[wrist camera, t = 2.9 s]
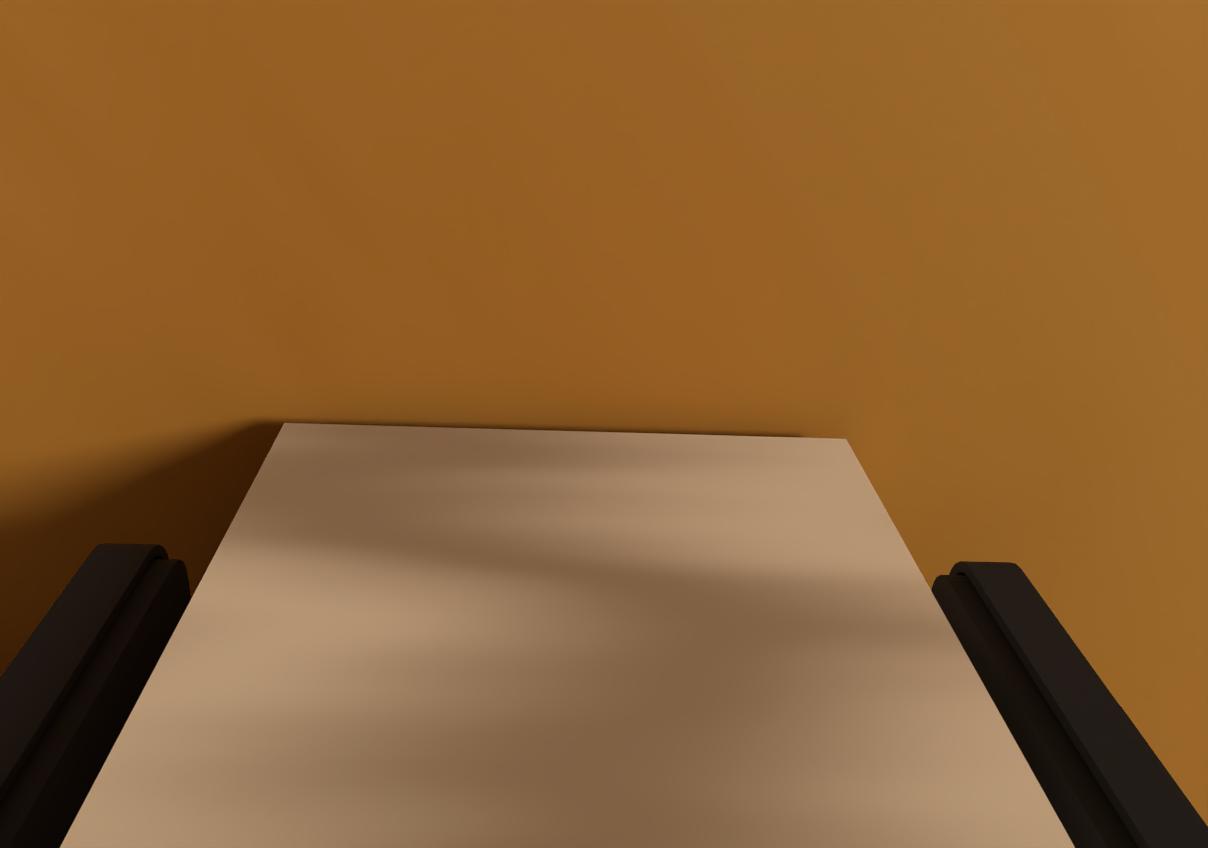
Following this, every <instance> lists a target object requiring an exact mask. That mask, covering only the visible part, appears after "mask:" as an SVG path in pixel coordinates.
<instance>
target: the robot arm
mask: <svg viewBox="0 0 1208 848" xmlns="http://www.w3.org/2000/svg"><path fill="white" fill-rule="evenodd" d="M931 591H932V593H933V595H934V597H935V599H936V600H937V602H938V604H939V606H940V608H941V609H942V611H943V613H944V615H945V616H946V618H947V620H948V622H949V624H950V625H951V627H952V629H953V631H954V632H955V634H956V636H957V638H958V640H959V641H960V643H961V645H962V647H963V649H964V650H965V652H966V654H967V656H968V657H969V659H970V661H971V663H972V665H973V666H974V668H975V670H976V672H977V674H978V675H979V677H980V679H981V681H982V682H983V684H984V686H985V688H986V690H987V691H988V693H989V695H990V697H991V698H992V700H993V702H994V704H995V706H996V707H997V709H998V711H999V713H1000V715H1001V716H1002V718H1003V720H1004V722H1005V723H1006V725H1007V727H1008V729H1009V731H1010V732H1011V734H1012V736H1013V738H1014V739H1015V741H1016V743H1017V745H1018V747H1019V748H1020V750H1021V752H1022V754H1023V756H1024V757H1025V759H1026V761H1027V763H1028V764H1029V766H1030V768H1031V770H1032V772H1033V773H1034V775H1035V777H1036V779H1037V781H1038V782H1039V784H1040V786H1041V788H1042V789H1043V791H1044V793H1045V795H1046V797H1047V798H1048V800H1049V802H1050V804H1051V805H1052V807H1053V809H1054V811H1055V813H1056V814H1057V816H1058V818H1059V820H1060V822H1061V823H1062V825H1063V827H1064V829H1065V830H1066V832H1067V834H1068V836H1069V838H1070V839H1071V841H1072V843H1073V845H1074V847H1075V848H1208V827H1207V825H1206V824H1205V822H1204V821H1203V820H1202V818H1201V817H1200V816H1199V814H1198V813H1197V811H1196V810H1195V809H1194V807H1193V806H1192V804H1191V803H1190V802H1189V800H1188V799H1187V798H1186V796H1185V795H1184V793H1183V792H1182V791H1181V789H1180V788H1179V786H1178V785H1177V784H1176V782H1175V781H1174V779H1173V778H1172V777H1171V775H1170V774H1169V773H1168V771H1167V770H1166V768H1165V767H1164V766H1163V764H1162V763H1161V761H1160V760H1159V759H1158V757H1157V756H1156V755H1155V753H1154V752H1153V750H1152V749H1151V748H1150V746H1149V745H1148V743H1147V742H1146V741H1145V739H1144V738H1143V736H1142V735H1141V734H1140V732H1139V731H1138V730H1137V728H1136V727H1135V725H1134V724H1133V723H1132V721H1131V720H1130V718H1129V717H1128V716H1127V714H1126V713H1125V712H1124V710H1123V709H1122V707H1121V706H1120V705H1119V704H1118V703H1117V701H1116V700H1115V699H1114V697H1113V696H1112V694H1111V693H1110V692H1109V690H1108V689H1107V688H1106V686H1105V685H1104V683H1103V682H1102V681H1101V679H1100V678H1099V676H1098V675H1097V674H1096V672H1095V671H1094V669H1093V668H1092V667H1091V665H1090V664H1089V663H1088V661H1087V660H1086V658H1085V657H1084V656H1083V654H1082V653H1081V651H1080V650H1079V649H1078V647H1077V646H1076V644H1075V643H1074V642H1073V640H1072V639H1071V638H1070V636H1069V635H1068V633H1067V632H1066V631H1065V629H1064V628H1063V626H1062V625H1061V624H1060V622H1059V621H1058V619H1057V618H1056V617H1055V615H1054V614H1053V612H1052V611H1051V610H1050V608H1049V607H1048V606H1047V604H1046V603H1045V601H1044V600H1043V599H1042V597H1041V596H1040V594H1039V593H1038V592H1037V590H1036V589H1035V587H1034V586H1033V585H1032V583H1031V582H1030V581H1029V579H1028V578H1027V576H1026V575H1025V574H1024V572H1023V571H1022V569H1021V568H1020V567H1018V566H1017V565H1016V564H1014V563H1009V562H961V561H960V562H958V563H956V564H955V565H954V567H953V568H952V570H951V572H950V575H940V576H938V577H937V578H936V580H935V581H934V584H933V587H932V590H931ZM190 600H191V596H190V589H189V582H188V574H187V570H186V566H185V564H184V562H183V561H181V560H169V559H168V554H167V552H166V550H165V549H164V547H162V546H161V545H150V544H100V545H98V546H97V547H96V548H95V549H94V550H93V551H92V552H91V554H90V555H89V557H88V558H87V559H86V561H85V562H84V563H83V565H82V566H81V568H80V569H79V570H78V572H77V573H76V574H75V576H74V577H73V579H72V580H71V581H70V583H69V584H68V585H67V587H66V588H65V590H64V591H63V592H62V594H61V595H60V597H59V598H58V599H57V601H56V602H55V603H54V605H53V606H52V608H51V609H50V610H49V612H48V613H47V614H46V616H45V617H44V619H43V620H42V621H41V623H40V624H39V625H38V627H37V628H36V630H35V631H34V632H33V634H32V635H31V637H30V638H29V639H28V641H27V642H26V643H25V645H24V646H23V648H22V649H21V650H20V652H19V653H18V654H17V656H16V657H15V659H14V660H13V661H12V663H11V664H10V665H9V667H8V668H7V670H6V671H5V672H4V674H3V675H2V677H0V848H60V846H61V844H62V843H63V841H64V839H65V837H66V835H67V833H68V831H69V829H70V827H71V826H72V824H73V822H74V820H75V818H76V816H77V814H78V812H79V810H80V809H81V807H82V805H83V803H84V801H85V799H86V797H87V795H88V793H89V792H90V790H91V788H92V786H93V784H94V782H95V780H96V778H97V776H98V774H99V773H100V771H101V769H102V767H103V765H104V763H105V761H106V759H107V757H108V756H109V754H110V752H111V750H112V748H113V746H114V744H115V742H116V740H117V739H118V737H119V735H120V733H121V731H122V729H123V727H124V725H125V723H126V721H127V720H128V718H129V716H130V714H131V712H132V710H133V708H134V706H135V704H136V703H137V701H138V699H139V697H140V695H141V693H142V691H143V689H144V687H145V686H146V684H147V682H148V680H149V678H150V676H151V674H152V672H153V670H154V669H155V667H156V665H157V663H158V661H159V659H160V657H161V655H162V653H163V651H164V650H165V648H166V646H167V644H168V642H169V640H170V638H171V636H172V634H173V633H174V631H175V629H176V627H177V625H178V623H179V621H180V619H181V617H182V616H183V614H184V612H185V610H186V608H187V606H188V604H189V602H190Z"/></svg>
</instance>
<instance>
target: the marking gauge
mask: <svg viewBox="0 0 1208 848" xmlns="http://www.w3.org/2000/svg"><path fill="white" fill-rule="evenodd" d="M60 848H1075V847H1074V845H1073V843H1072V841H1071V839H1070V838H1069V836H1068V834H1067V832H1066V830H1065V829H1064V827H1063V825H1062V823H1061V822H1060V820H1059V818H1058V816H1057V814H1056V813H1055V811H1054V809H1053V807H1052V805H1051V804H1050V802H1049V800H1048V798H1047V797H1046V795H1045V793H1044V791H1043V789H1042V788H1041V786H1040V784H1039V782H1038V781H1037V779H1036V777H1035V775H1034V773H1033V772H1032V770H1031V768H1030V766H1029V764H1028V763H1027V761H1026V759H1025V757H1024V756H1023V754H1022V752H1021V750H1020V748H1019V747H1018V745H1017V743H1016V741H1015V739H1014V738H1013V736H1012V734H1011V732H1010V731H1009V729H1008V727H1007V725H1006V723H1005V722H1004V720H1003V718H1002V716H1001V715H1000V713H999V711H998V709H997V707H996V706H995V704H994V702H993V700H992V698H991V697H990V695H989V693H988V691H987V690H986V688H985V686H984V684H983V682H982V681H981V679H980V677H979V675H978V674H977V672H976V670H975V668H974V666H973V665H972V663H971V661H970V659H969V657H968V656H967V654H966V652H965V650H964V649H963V647H962V645H961V643H960V641H959V640H958V638H957V636H956V634H955V632H954V631H953V629H952V627H951V625H950V624H949V622H948V620H947V618H946V616H945V615H944V613H943V611H942V609H941V608H940V606H939V604H938V602H937V600H936V599H935V597H934V595H933V593H932V591H931V590H930V588H929V586H928V584H927V583H926V581H925V579H924V577H923V575H922V574H921V572H920V570H919V568H918V567H917V565H916V563H915V561H914V559H913V558H912V556H911V554H910V552H909V550H908V549H907V547H906V545H905V543H904V542H903V540H902V538H901V536H900V534H899V533H898V531H897V529H896V527H895V525H894V524H893V522H892V520H891V518H890V517H889V515H888V513H887V511H886V509H885V508H884V506H883V504H882V502H881V501H880V499H879V497H878V495H877V493H876V492H875V490H874V488H873V486H872V484H871V483H870V481H869V479H868V477H867V476H866V474H865V472H864V470H863V468H862V467H861V465H860V463H859V461H858V459H857V458H856V456H855V454H854V452H853V451H852V449H851V447H850V445H849V443H848V442H847V440H846V439H832V438H797V437H762V436H727V435H692V434H657V433H621V432H586V431H551V430H516V429H481V428H446V427H411V426H376V425H340V424H305V423H284V424H283V426H282V428H281V430H280V432H279V434H278V436H277V438H276V440H275V441H274V443H273V445H272V447H271V449H270V451H269V453H268V455H267V457H266V458H265V460H264V462H263V464H262V466H261V468H260V470H259V472H258V474H257V476H256V477H255V479H254V481H253V483H252V485H251V487H250V489H249V491H248V493H247V494H246V496H245V498H244V500H243V502H242V504H241V506H240V508H239V510H238V511H237V513H236V515H235V517H234V519H233V521H232V523H231V525H230V527H229V528H228V530H227V532H226V534H225V536H224V538H223V540H222V542H221V544H220V546H219V547H218V549H217V551H216V553H215V555H214V557H213V559H212V561H211V563H210V564H209V566H208V568H207V570H206V572H205V574H204V576H203V578H202V580H201V581H200V583H199V585H198V587H197V589H196V591H195V593H194V595H193V597H192V599H191V600H190V602H189V604H188V606H187V608H186V610H185V612H184V614H183V616H182V617H181V619H180V621H179V623H178V625H177V627H176V629H175V631H174V633H173V634H172V636H171V638H170V640H169V642H168V644H167V646H166V648H165V650H164V651H163V653H162V655H161V657H160V659H159V661H158V663H157V665H156V667H155V669H154V670H153V672H152V674H151V676H150V678H149V680H148V682H147V684H146V686H145V687H144V689H143V691H142V693H141V695H140V697H139V699H138V701H137V703H136V704H135V706H134V708H133V710H132V712H131V714H130V716H129V718H128V720H127V721H126V723H125V725H124V727H123V729H122V731H121V733H120V735H119V737H118V739H117V740H116V742H115V744H114V746H113V748H112V750H111V752H110V754H109V756H108V757H107V759H106V761H105V763H104V765H103V767H102V769H101V771H100V773H99V774H98V776H97V778H96V780H95V782H94V784H93V786H92V788H91V790H90V792H89V793H88V795H87V797H86V799H85V801H84V803H83V805H82V807H81V809H80V810H79V812H78V814H77V816H76V818H75V820H74V822H73V824H72V826H71V827H70V829H69V831H68V833H67V835H66V837H65V839H64V841H63V843H62V844H61V846H60Z"/></svg>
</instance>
